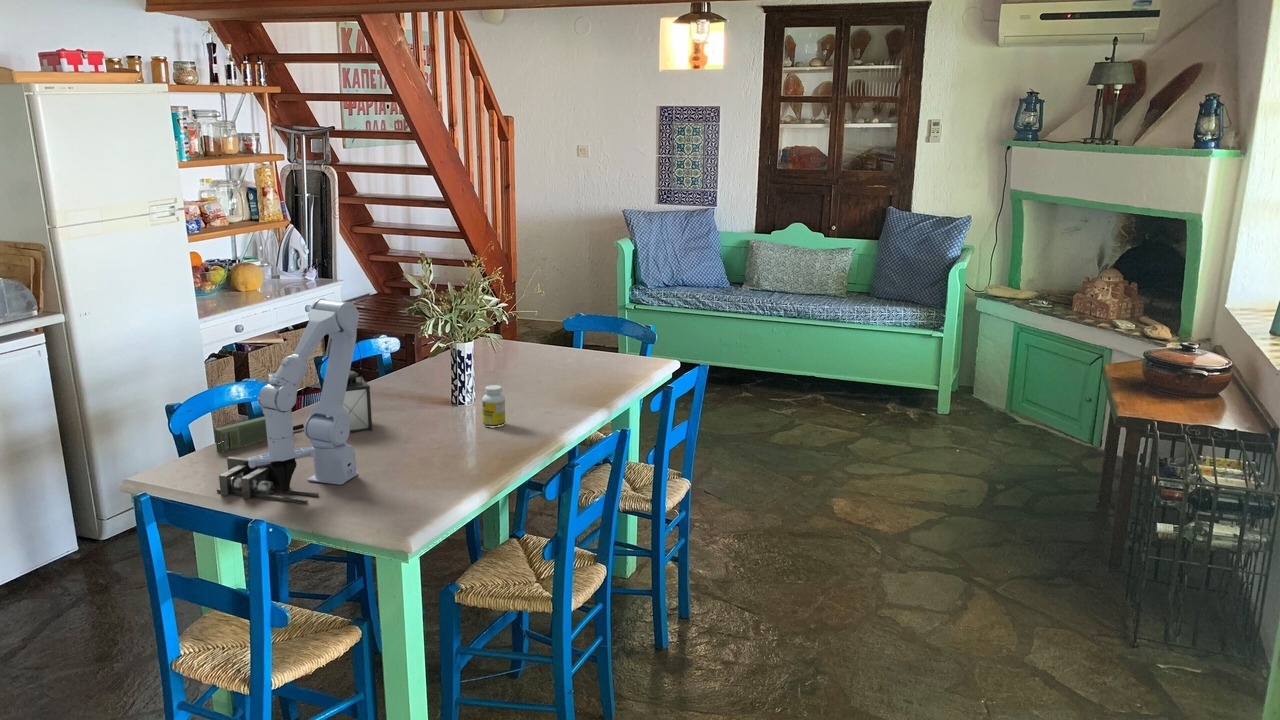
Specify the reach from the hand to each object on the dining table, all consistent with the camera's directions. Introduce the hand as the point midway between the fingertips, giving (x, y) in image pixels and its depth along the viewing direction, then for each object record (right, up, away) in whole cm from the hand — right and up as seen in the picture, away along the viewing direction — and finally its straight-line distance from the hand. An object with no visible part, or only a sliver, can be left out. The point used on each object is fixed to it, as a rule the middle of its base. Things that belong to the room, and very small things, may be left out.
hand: (285, 490), depth 220 cm
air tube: (-10, -1, +4) cm, 11 cm away
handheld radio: (-21, +8, +39) cm, 45 cm away
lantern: (-1, +11, +51) cm, 52 cm away
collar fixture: (-6, -1, +3) cm, 6 cm away
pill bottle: (+41, +11, +54) cm, 69 cm away
